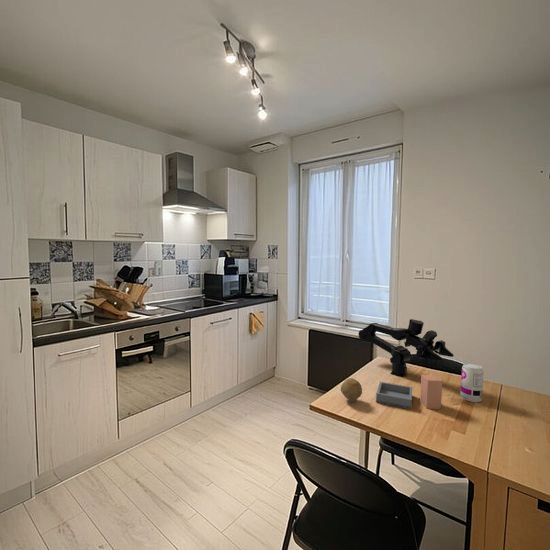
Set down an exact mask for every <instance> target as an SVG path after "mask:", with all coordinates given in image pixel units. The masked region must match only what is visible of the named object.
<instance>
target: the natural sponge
mask: <svg viewBox="0 0 550 550" xmlns="http://www.w3.org/2000/svg"><path fill="white" fill-rule="evenodd" d="M340 392H341V393H342V395H343V396H344V397H345V398H346V399H347V400H348V401H349V402H351V403H354V402H356V401H357V400H358V399H359V398H360V397H361V396H362V394H363V387H362V385H361V383H360V382H359V380H357V379H355V378H352V377H349V378H347V379H345V380H344V381H343V382H342V384H341V386H340Z"/></svg>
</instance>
